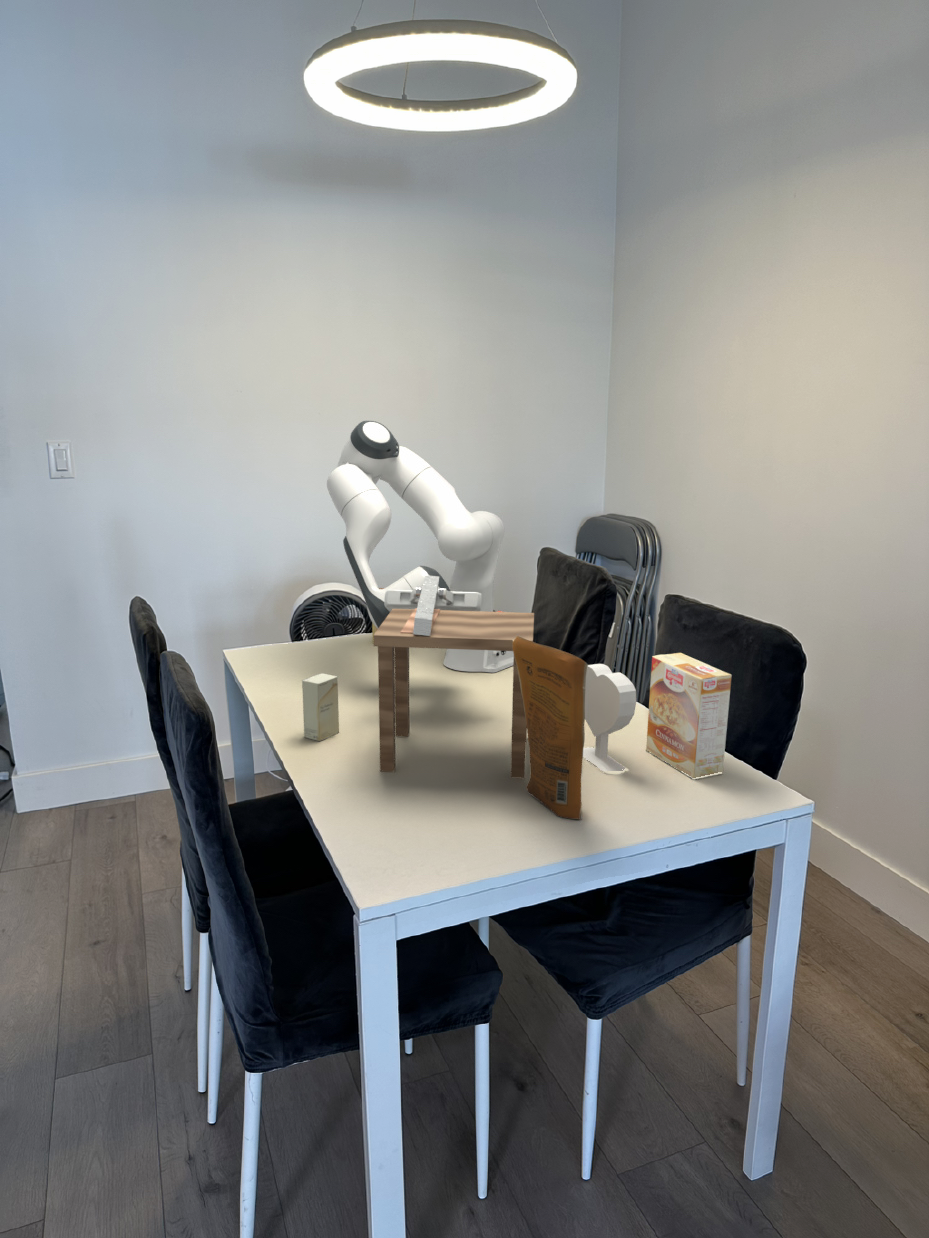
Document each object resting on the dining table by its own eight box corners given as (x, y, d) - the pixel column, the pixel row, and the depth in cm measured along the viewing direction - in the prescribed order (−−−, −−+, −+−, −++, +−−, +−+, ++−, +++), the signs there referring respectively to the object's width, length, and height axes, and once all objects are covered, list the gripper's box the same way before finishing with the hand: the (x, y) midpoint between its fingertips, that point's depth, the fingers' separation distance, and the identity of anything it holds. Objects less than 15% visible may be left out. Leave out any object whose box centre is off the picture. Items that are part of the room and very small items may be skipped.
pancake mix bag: (562, 829, 136) (569, 662, 129) (505, 782, 153) (508, 631, 146) (597, 821, 139) (606, 656, 132) (537, 776, 156) (542, 627, 149)
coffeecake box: (644, 750, 168) (650, 655, 163) (674, 745, 170) (681, 651, 165) (692, 781, 154) (701, 678, 149) (724, 774, 157) (733, 673, 152)
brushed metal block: (423, 588, 180) (425, 574, 180) (437, 590, 180) (439, 576, 180) (413, 634, 150) (414, 617, 149) (430, 636, 150) (431, 619, 149)
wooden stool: (394, 731, 176) (392, 607, 169) (530, 737, 174) (534, 612, 167) (375, 771, 157) (373, 634, 150) (528, 779, 154) (532, 639, 148)
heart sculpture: (635, 774, 157) (641, 681, 152) (612, 778, 155) (617, 684, 150) (590, 743, 171) (594, 657, 166) (568, 747, 169) (572, 660, 164)
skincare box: (319, 742, 170) (317, 684, 167) (302, 737, 172) (300, 680, 169) (340, 732, 175) (338, 675, 172) (323, 727, 177) (321, 672, 174)
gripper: (390, 595, 186) (379, 575, 173) (484, 598, 185) (480, 578, 171) (388, 623, 185) (377, 605, 171) (482, 626, 183) (478, 608, 170)
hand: (429, 591), depth 171 cm, fingers open, 4 cm apart
